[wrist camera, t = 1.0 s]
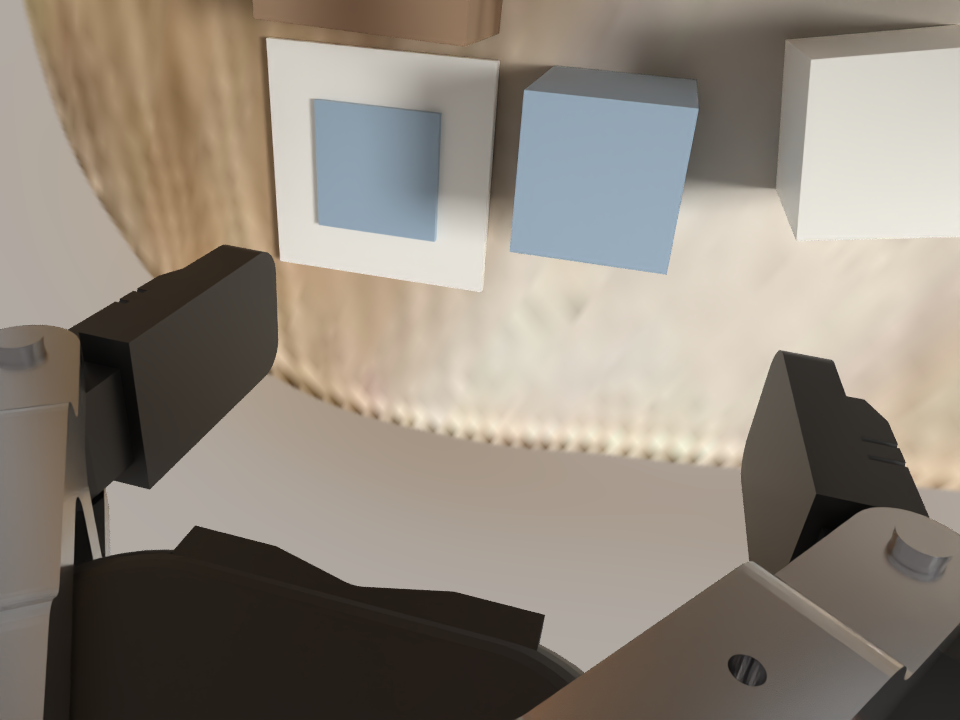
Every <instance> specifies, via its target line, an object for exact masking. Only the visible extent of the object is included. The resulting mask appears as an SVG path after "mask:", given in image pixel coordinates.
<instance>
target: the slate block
mask: <svg viewBox="0 0 960 720" xmlns="http://www.w3.org/2000/svg"><path fill="white" fill-rule="evenodd" d="M698 111H699V104H698V92H697V80H692V79H683V78H673V77H663V76H653V75H643V74H633V73H623V72H613V71H603V70H593V69H583V68H574V67H564V66H553V67H552V68H551V69H550V70H548V71H547V72H546V73H545V74H543V75H542V76H541V77H540V78H538V79H537V80H536V81H535V82H533V83H532V84H531V85H530V86H528V87H527V88H526V89H525V90H524V96H523V108H522V119H521V130H520V142H519V153H518V164H517V176H516V187H515V198H514V210H513V221H512V232H511V243H510V252H515V253H522V254H529V255H536V256H542V257H549V258H556V259H563V260H570V261H577V262H584V263H591V264H597V265H604V266H611V267H618V268H625V269H632V270H639V271H646V272H652V273H659V274H666V275H667V270H668V265H669V260H670V254H671V249H672V244H673V239H674V234H675V229H676V224H677V219H678V213H679V208H680V203H681V198H682V193H683V188H684V183H685V178H686V172H687V167H688V162H689V157H690V152H691V147H692V142H693V137H694V131H695V126H696V121H697V116H698Z"/></svg>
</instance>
